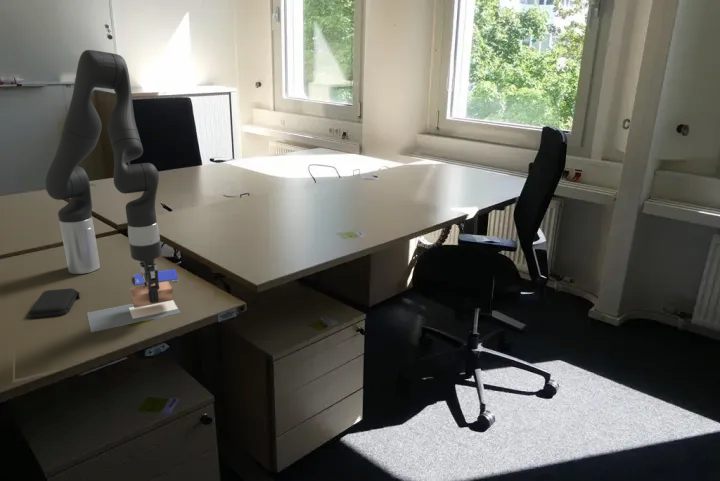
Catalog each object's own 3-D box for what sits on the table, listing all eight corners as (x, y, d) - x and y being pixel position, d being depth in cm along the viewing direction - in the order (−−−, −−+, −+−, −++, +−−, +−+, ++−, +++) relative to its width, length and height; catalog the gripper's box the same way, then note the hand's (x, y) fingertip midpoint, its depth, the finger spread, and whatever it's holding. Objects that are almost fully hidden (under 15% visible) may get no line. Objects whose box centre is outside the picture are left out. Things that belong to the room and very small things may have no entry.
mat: (87, 314, 143) (86, 312, 143) (171, 297, 154) (171, 295, 154) (91, 334, 134) (90, 331, 134) (180, 314, 144) (180, 312, 144)
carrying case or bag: (71, 318, 142) (84, 294, 156) (70, 308, 141) (82, 285, 155) (27, 322, 140) (44, 298, 153) (25, 312, 139) (42, 288, 152)
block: (169, 292, 150) (167, 281, 149) (173, 300, 145) (172, 288, 144) (131, 300, 145) (129, 288, 144) (134, 308, 141) (132, 296, 139)
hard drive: (135, 284, 160) (178, 277, 165) (134, 274, 167) (175, 268, 172) (135, 288, 161) (178, 282, 165) (134, 278, 168) (175, 272, 172)
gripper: (165, 245, 135) (172, 305, 141) (154, 229, 147) (161, 285, 153) (133, 250, 132) (142, 311, 137) (125, 233, 143) (133, 290, 149)
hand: (152, 297), depth 145 cm, fingers closed on block, 5 cm apart
